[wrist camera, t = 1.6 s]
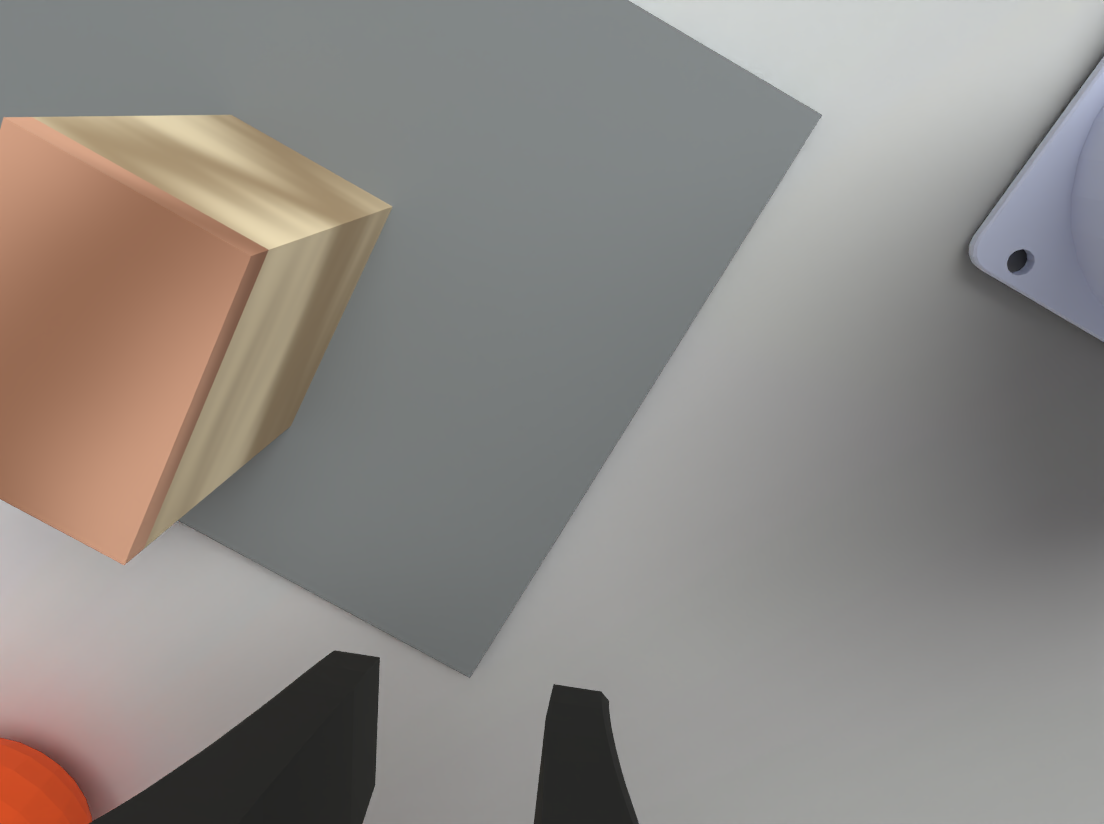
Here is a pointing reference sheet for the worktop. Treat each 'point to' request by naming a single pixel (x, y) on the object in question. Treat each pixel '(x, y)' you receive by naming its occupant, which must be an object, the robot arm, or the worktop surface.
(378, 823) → the worktop surface
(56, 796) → the clementine
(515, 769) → the worktop surface
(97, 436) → the maple block
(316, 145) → the slate mat
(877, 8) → the worktop surface
